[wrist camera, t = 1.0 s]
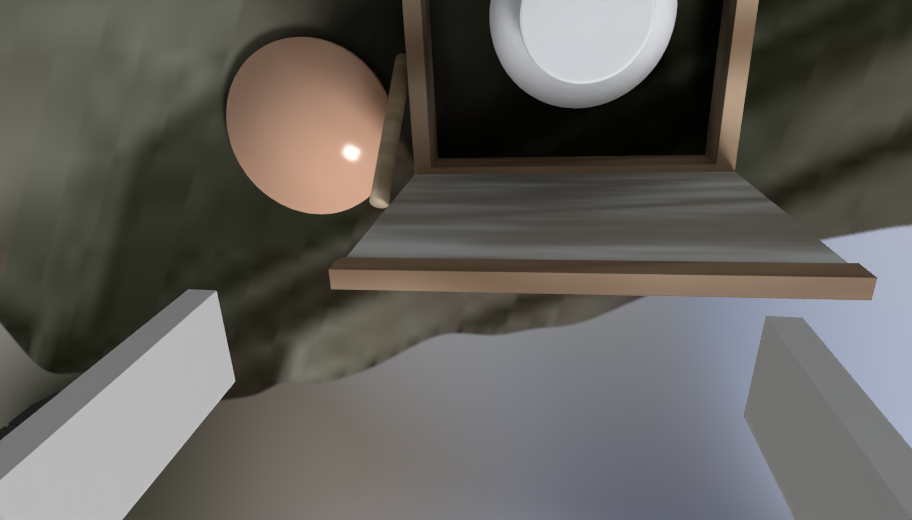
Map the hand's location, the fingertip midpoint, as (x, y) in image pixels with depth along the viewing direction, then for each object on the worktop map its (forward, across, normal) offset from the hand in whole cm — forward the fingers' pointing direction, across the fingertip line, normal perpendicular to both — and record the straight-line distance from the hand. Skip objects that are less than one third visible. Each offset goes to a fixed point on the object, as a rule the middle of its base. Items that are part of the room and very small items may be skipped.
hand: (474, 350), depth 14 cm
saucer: (+24, -13, +1) cm, 27 cm away
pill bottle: (+24, +3, +7) cm, 25 cm away
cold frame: (+24, +3, +6) cm, 25 cm away
